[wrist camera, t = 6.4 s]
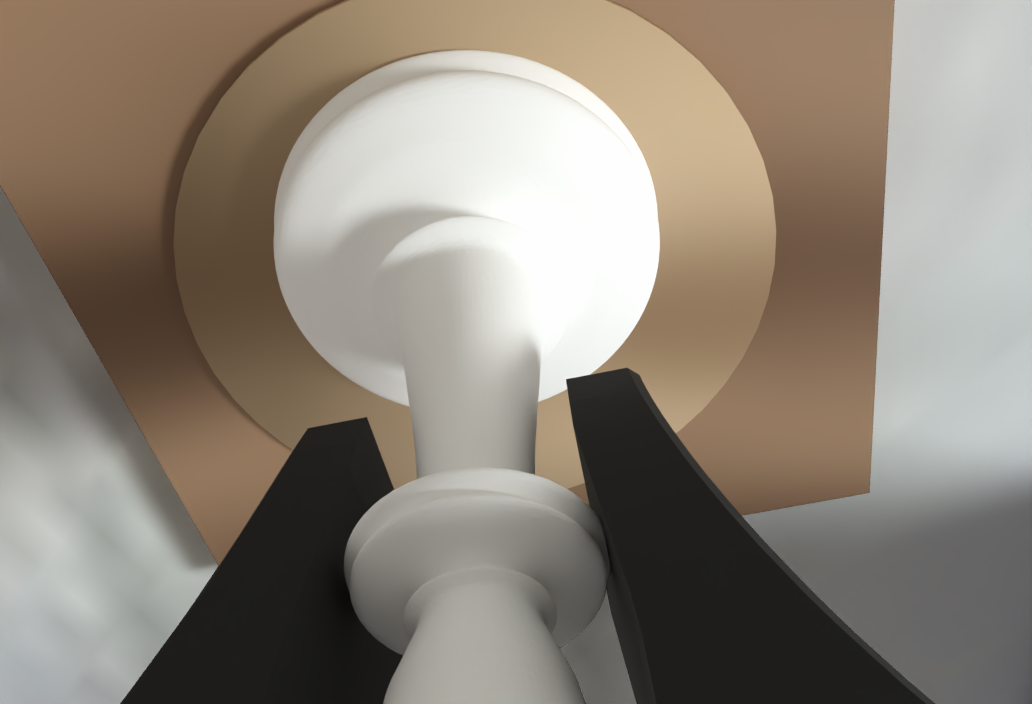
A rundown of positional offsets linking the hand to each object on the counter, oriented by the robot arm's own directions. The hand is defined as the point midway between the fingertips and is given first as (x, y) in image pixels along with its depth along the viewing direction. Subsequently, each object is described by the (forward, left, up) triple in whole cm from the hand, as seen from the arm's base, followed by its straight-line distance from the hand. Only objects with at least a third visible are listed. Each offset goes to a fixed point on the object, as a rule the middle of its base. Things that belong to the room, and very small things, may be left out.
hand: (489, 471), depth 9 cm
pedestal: (0, 0, -5) cm, 5 cm away
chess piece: (+1, 0, -4) cm, 4 cm away
